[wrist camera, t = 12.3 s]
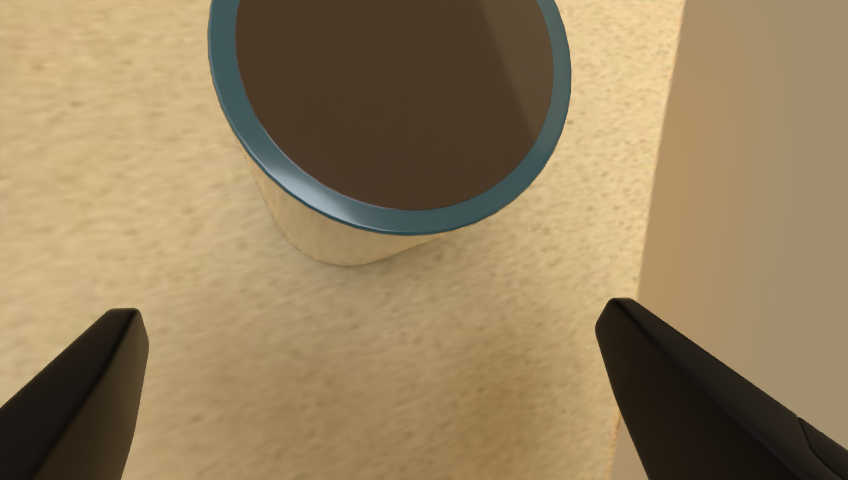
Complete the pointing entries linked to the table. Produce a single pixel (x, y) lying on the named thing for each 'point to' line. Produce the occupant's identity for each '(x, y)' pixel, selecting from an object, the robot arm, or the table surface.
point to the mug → (389, 113)
